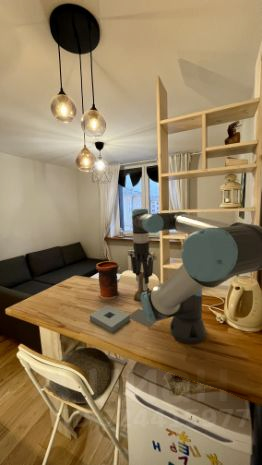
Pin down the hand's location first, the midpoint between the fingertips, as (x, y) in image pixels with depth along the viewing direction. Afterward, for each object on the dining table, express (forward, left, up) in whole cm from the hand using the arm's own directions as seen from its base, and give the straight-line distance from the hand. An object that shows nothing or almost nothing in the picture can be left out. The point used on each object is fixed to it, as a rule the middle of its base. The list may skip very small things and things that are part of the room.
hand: (142, 288), depth 96 cm
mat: (0, 0, -16) cm, 16 cm away
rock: (+12, -15, -16) cm, 25 cm away
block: (+12, +12, -16) cm, 23 cm away
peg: (0, 0, -4) cm, 4 cm away
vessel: (+34, -8, -16) cm, 39 cm away
